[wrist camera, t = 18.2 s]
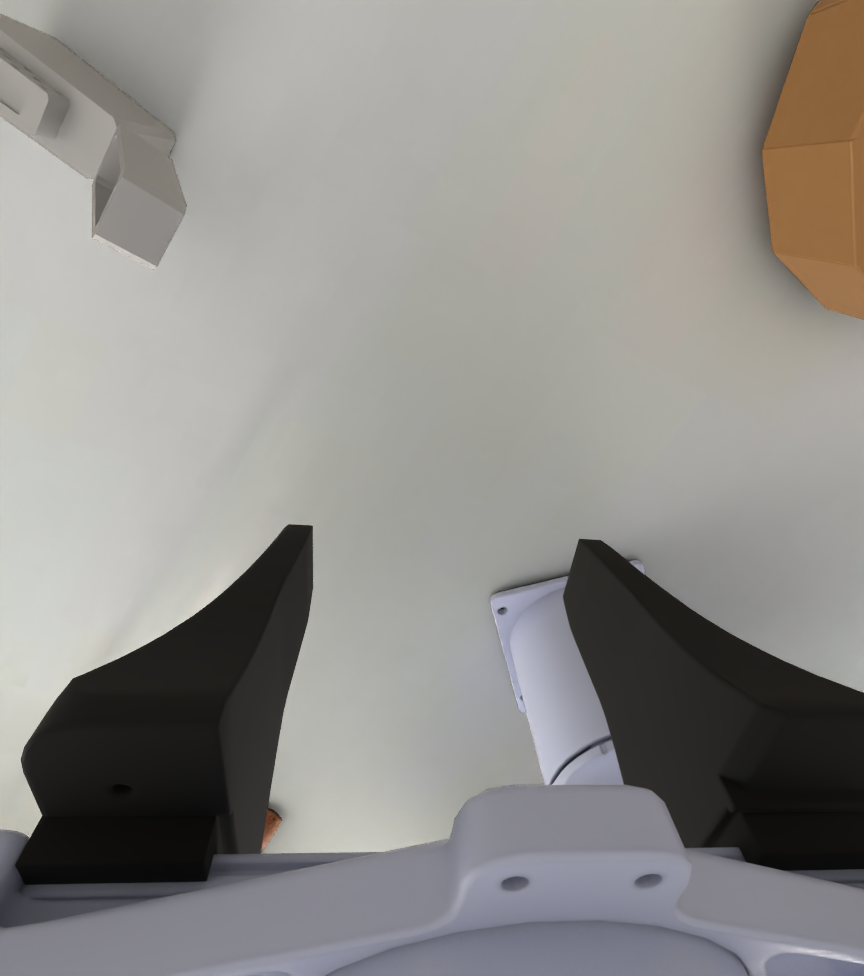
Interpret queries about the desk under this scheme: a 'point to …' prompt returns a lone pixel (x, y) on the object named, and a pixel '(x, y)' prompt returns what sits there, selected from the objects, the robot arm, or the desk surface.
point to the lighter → (94, 140)
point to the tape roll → (821, 159)
